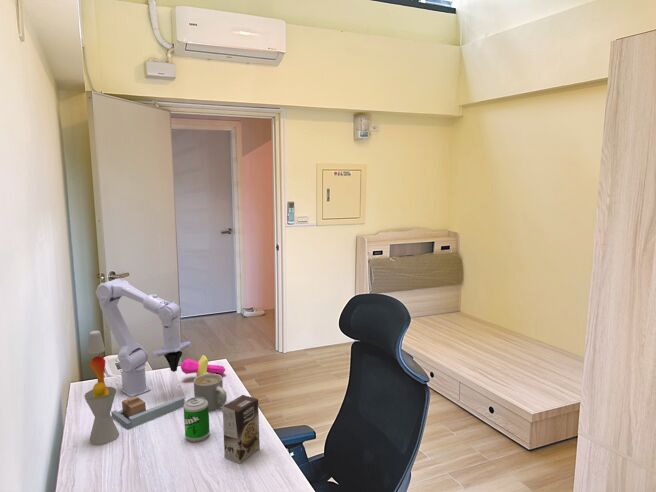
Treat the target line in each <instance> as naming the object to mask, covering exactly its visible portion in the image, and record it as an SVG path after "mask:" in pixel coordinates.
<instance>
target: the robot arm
mask: <svg viewBox="0 0 656 492" xmlns="http://www.w3.org/2000/svg"><path fill="white" fill-rule="evenodd" d="M95 295H96V297H97V299H98V303H99V307H100V310H101V312H102V313H103V316H104V318H105V321H106V322H107V324H108V326H109V328H110V330H111V333H112V335H113V337H114V339H115V341H116V343H117V345H118V347H119V352H118V354H117V359H118V361H119V368H120V369H121V384H122V386H121V388H120V391H121V392H123V393H124V394H126V396H129V398H132V397H134V396H138V395H141V394H144V393H146V392H149V391H151V390H152V389H151V388H150V387H148V386H147V379H146V363H147V362H148V360H149V355H148V352H147V351H146V349H144V347H143V346H142V344H141V343H138V342H135V340H134V338H133V336H132V334H131V332H130V329H129V327H128V325H127V323H126V321H125V319H124V317H123V315H122V313H121V311H120V309H119V307H118V304H119V302H120V300H121V298H122V297H127V298H129V299H130V300H133V301H135V302H138V303H141V304H142V306H143V308H144V309H146V310H148V311H150V312H152V313H153V314H156V315H157V316H158V318H159V319H160V321H161V325H162V335H163V336H162V337H163V347H161V348H160V349H157V350H155V351H152V358H154V359H157V358H159V357H162V356H163V357H164V358H165V359H166V361H167V364H168V365H169V368H170V371H171V372H173V373H175V372H177V371H178V367H179V366H178V365H179V363H180V360H181V358H182V355H183V352H182V351H183V350H184V349H189V348H192V342H191V341H185V342H181V336H180V335H181V334H180V320H179V319H180V318H179V316H180V315H181V313H182V307H181V305H180V304H179V303H177V302H176V301H171V302H170V301H169V300H167V299H166V300H165V299H163V298H161V297H159V296H158V294H156V293H154V294H149V295H148V294H146V293H144V292H143V291H141V290H139V289H137V288H136V287H135V286H133V285H131V284H130V283H129V281H128V280H124V279H123V278H121V277H118V278H117V277H116V278H115V279H112V280H109V281H106V282H102V283H99V284H98V286H97V288H96V290H95ZM181 350H182V351H181Z"/></svg>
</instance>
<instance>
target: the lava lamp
mask: <svg viewBox="0 0 656 492" xmlns="http://www.w3.org/2000/svg"><path fill="white" fill-rule="evenodd" d="M105 351H106V348H105V344H104V341H103V336H102V333H101V331H100V330H92V331H90V332H89V333H88V343H87V353H88V354H89V355H91V354H92V355H95V354H101V353H103V352H105ZM89 366H90V369H92V371H93V372H94V373H95V375H96V380H97V382H96V383H95V384H94V385H93V388H92V389H91V390H89V391H87V392H86V393H85V394H84V396H83V397H84V399H85V401H86V404H87V406H89V409H90V411H91V413H92V414H93V416H94V420H93V424H92V428H91V431H90V436H89V443H90V444H91V445H93V444H94V445H95V446H102V445H108V444H110V443H113V442H114V441H115V440H117V439H118V438H119V436H120V431H119V430H118V428H117V426H116V424H115V421H114V420H113V418H112V414H111V412H112V408H113V404H114V402H115V401H114V400H115V398H116V397H115V396H116V393H117V389H116V388H115V387H113V386H106V384H105V369H106V360H105V358H104V357H103V356H101V355H98V356H94V357H93V358H92V359H91V360H90V362H89Z"/></svg>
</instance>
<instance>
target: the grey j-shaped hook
mask: <svg viewBox="0 0 656 492" xmlns="http://www.w3.org/2000/svg"><path fill="white" fill-rule="evenodd" d="M185 399H186V398H185V397H183V396H180V397H176V398H174V399H172V400H169V401H167V402H163V403H162V404H159V405H156V406H154V407H151V408H148V409H146V411H143V412H141V413H138V414H135V415H133V416H130V417H129V420H128V419H127V418H125V417H124V416H123V410H122V409H121V410H119V411H118V410H116V409H115V410H111V412H110V415H111V417H112V419H114V420H115V421H116V422H117V423H118V424H120V425H121V426H122V427H124V428H125V429H126V430H130V429H132V428H135V427H137V426H140V425H143V424H144V423H147V422H149V421H152V420H154V419H157V418H160V417H161V416H165V415H167V414H169V413H171V412H174V411H177V410H179V409H181V408H183V405H184V404H185V403H186V401H185Z"/></svg>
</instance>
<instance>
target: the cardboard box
mask: <svg viewBox="0 0 656 492" xmlns="http://www.w3.org/2000/svg"><path fill="white" fill-rule="evenodd" d="M121 407H122V409H121V410H123V416H124V417H125V418H127V419H128V420H129V417H130V416H133V415H135V414H138V413H141V412H143V411H146V410H147V405H146V402H145V401H144V400H143V399H141V398H140V397H139V396H138V395H136V396H133V397H129V398H126V399H123V400H122V401H121Z"/></svg>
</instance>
